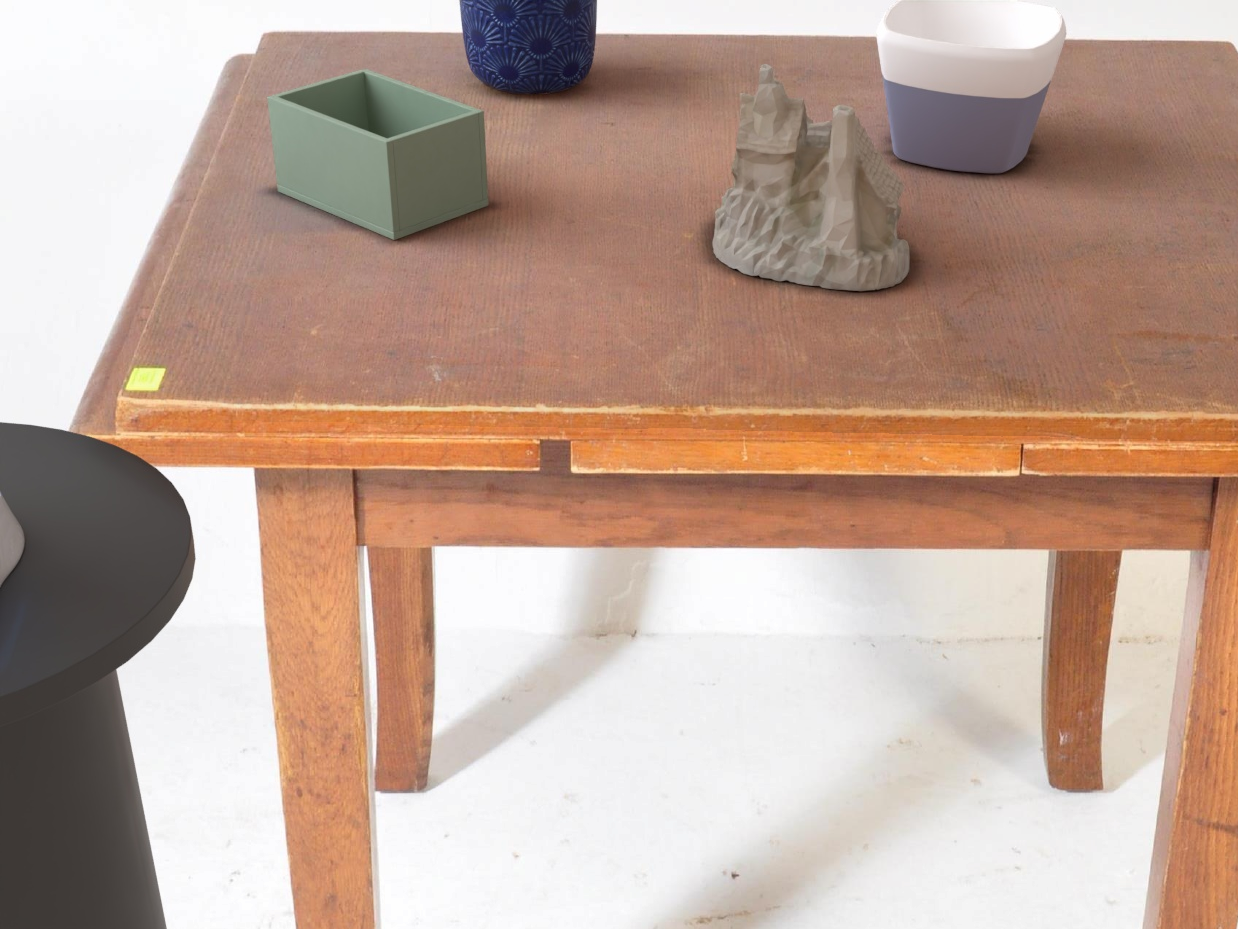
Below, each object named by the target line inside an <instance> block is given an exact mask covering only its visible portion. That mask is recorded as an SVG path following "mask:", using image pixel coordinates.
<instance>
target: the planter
mask: <svg viewBox="0 0 1238 929" xmlns="http://www.w3.org/2000/svg"><path fill="white" fill-rule="evenodd" d="M458 1H459V12H460V21H461V22H460V23H461V31H462V38H463V45H464V51H465V56H466V60H467V63H468V66H469V69H470V70H471V73H472V74H473V75H474V76H475V78H477V79H478V80H479V82H481V83H483V84H484V85H486V86H488V87H490V88H492V89H495V90H497V91H501V92H505V93H510V94H516V95H517V94H518V95H546V94H555V93H559V92H562V91H566V90H570V89H571V88H574V87H575V86H577V85H578V84H580V83H581V82H583V81H584V79H586V77H587V76H588V75H589V73H590V71H591V69H592V67H593V66H592V65H593V63H594V59H595V58H594V57H595V49H596V40H597V37H596V36H597V22H598V20H597V19H598V0H458Z"/></svg>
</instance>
